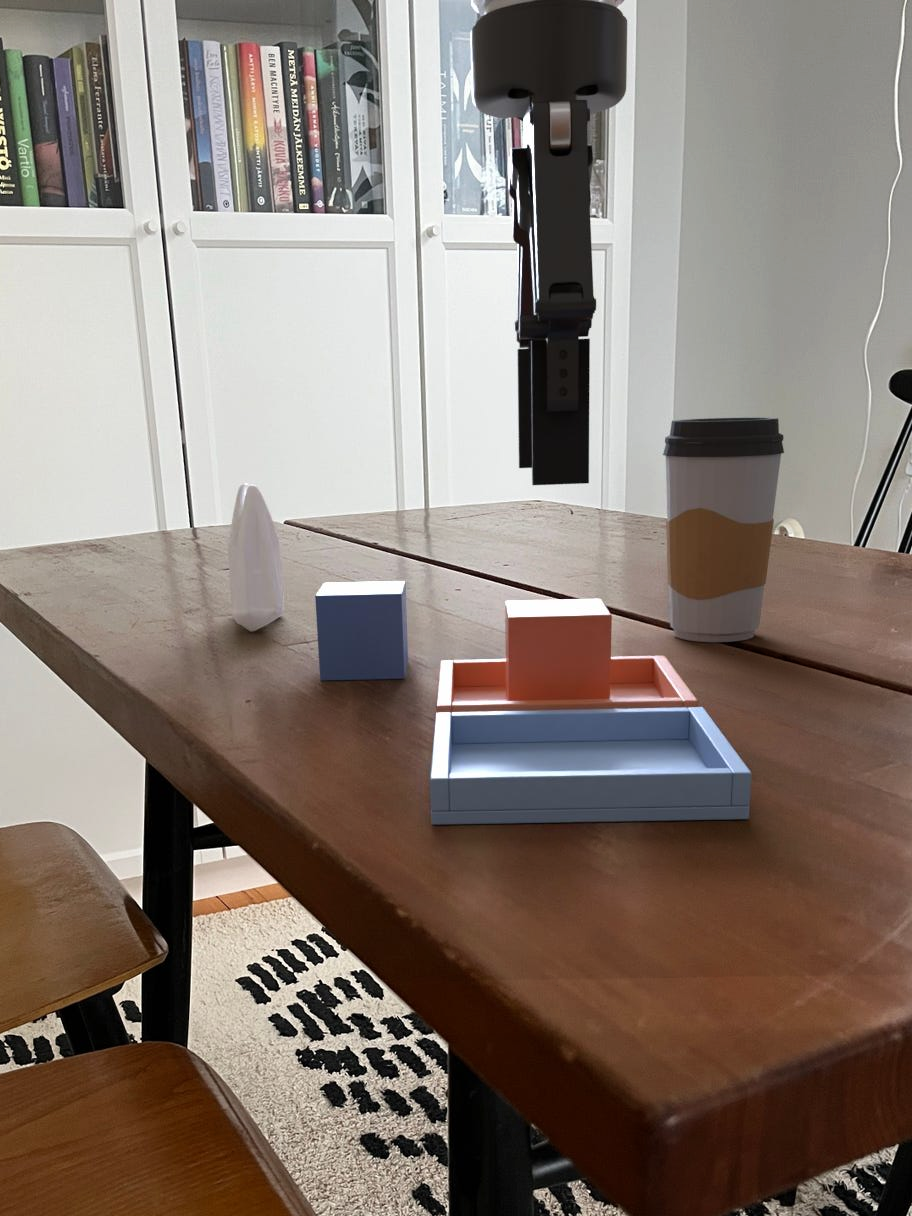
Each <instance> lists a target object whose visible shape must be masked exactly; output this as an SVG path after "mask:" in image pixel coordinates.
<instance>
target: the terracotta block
mask: <svg viewBox="0 0 912 1216" xmlns="http://www.w3.org/2000/svg"><path fill="white" fill-rule="evenodd" d="M504 610H505V611H504V613H505V618H504V619H505V620H504V623H505V624H504V625H505V628H504V629H505V631H504V632H505V633H504V634H505V635H504V637H505V659H506V698H507V701H532V700H580V699H610V673H611V657H612V627H613V626H612V621H613V616H612V614H611V612H610V610H609V609H608V607H607V605H606V604H605V602H604V601H603V599H602V598H566V599H565V598H564V599H562V598H561V599H559V598H558V599H524V600H523V599H522V600H519V599H517V600H505V602H504Z"/></svg>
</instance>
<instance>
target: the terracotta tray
mask: <svg viewBox="0 0 912 1216" xmlns="http://www.w3.org/2000/svg"><path fill="white" fill-rule="evenodd" d="M682 707H686V708H689V707H699V700H698V699H697V698H696V696H695V695H694V694H693V692H692V691H691V689H690V688H689V687H688V685H687V684H686V682H685V681H684V680H683V679H682V677H681V676H680V674H679V672H677V670H676V669H675V668H674V666H673V664H672V663H671V662H670V661H669V660H668V658H667V657H666V656H665V655H625V656H624V655H621V656H611V673H610V699H580V700H532V701H507V698H506V658H488V659H487V658H486V659H485V658H484V659H483V658H482V659H481V658H480V659H452V660H451V659H448V660H447V659H446V660H443V659H442V660H440V662H439V675H438V686H437V695H436V713H442V712H450V713H451V714H452V712H487V711H536V710H585V709H633V708H682Z"/></svg>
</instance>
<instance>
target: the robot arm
mask: <svg viewBox="0 0 912 1216" xmlns="http://www.w3.org/2000/svg"><path fill="white" fill-rule="evenodd" d="M470 1H471V7H472V8H473V9H474V11H476V13H477V14H478V15H480V17H478V19H476V21H475V22H474V25H473V26H472V27H471V28H470V62H471V63H470V65H471V68H470V69H471V98H472V99H471V100H472V104H473V105H474V107H475V108H476V109H477V111H479V112H480V113H482V114H484V115H486V116H489V117H493V118H497V119H503V120H505V119H512V118H515V119H517V120H520V121H521V122H523V134H522V135H523V136H522V139H523V140H522V143H523V145H522V147H510V156H508V161H507V180H508V193H509V197H511V198H512V204H511V209H512V210H511V227H512V239H513V241H514V242H515V244H516V245H517V268H516V269H517V272H516V275H517V276H516V281H517V282H516V284H517V285H516V295H517V296H516V320H515V321H514V331H515V333H516V342H517V343H518V348H517V350H516V351H517V352H516V353H517V408H518V409H517V411H518V412H517V415H518V416H517V421H518V422H517V425H518V427H517V431H518V468H519V469H531V485H532V486H552V485H553V486H555V485H579V484H581V485H583V484H590V380H591V379H590V377H591V376H590V369H591V367H590V360H591V359H590V354H591V350H590V349H591V339H590V338H589V332H590V329H592V325H593V324H592V323H593V318H594V314H595V312H596V311H597V298H595V296H594V274H593V272H594V271H593V251H592V250H593V249H592V226H591V205H592V196H591V195H592V194H591V182H592V173H593V166H594V165H593V164H594V154H593V145H592V144H589V143H588V141H589V139H588V124H589V122H590V121H591V115H592V114H597V113H601V112H603V111H607V110H608V109H611V108H613V107H615V106H616V105H617V104H619V103H620V102H621V101H622V100H623V98H624V97H625V95H626V92H627V78H628V77H627V76H628V75H627V74H628V72H627V70H628V69H627V68H628V65H627V64H628V60H627V59H628V18H627V17H626V16H625V15H624V13H623V11H622V10H621V9H620V8H618V7H619V6H620V5H622V4H623V3H624V1H625V0H470ZM584 337H585V338H584ZM586 337H588V338H586Z"/></svg>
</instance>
